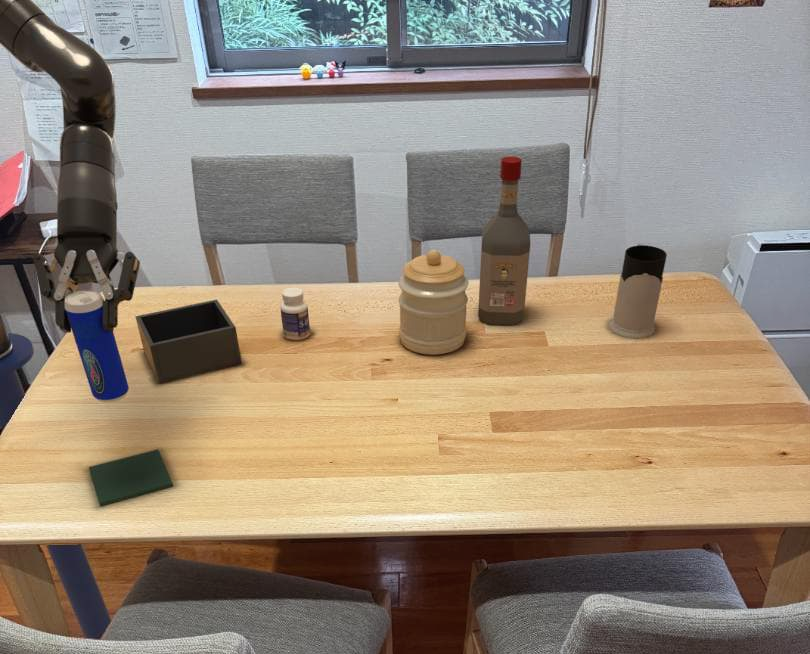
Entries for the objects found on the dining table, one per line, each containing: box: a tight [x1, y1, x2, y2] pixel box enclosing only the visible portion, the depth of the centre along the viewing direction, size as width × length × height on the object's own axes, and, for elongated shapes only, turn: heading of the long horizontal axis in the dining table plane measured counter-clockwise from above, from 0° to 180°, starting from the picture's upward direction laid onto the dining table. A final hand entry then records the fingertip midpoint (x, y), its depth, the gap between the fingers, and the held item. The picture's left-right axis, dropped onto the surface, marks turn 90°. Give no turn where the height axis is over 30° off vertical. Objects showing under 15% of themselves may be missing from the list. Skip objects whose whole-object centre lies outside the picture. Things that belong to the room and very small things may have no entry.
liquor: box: [477, 156, 531, 326], centre depth 155 cm, size 9×9×30 cm
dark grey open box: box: [135, 299, 243, 384], centre depth 151 cm, size 16×13×8 cm
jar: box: [397, 249, 469, 355], centre depth 152 cm, size 13×13×18 cm
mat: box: [88, 448, 174, 507], centre depth 126 cm, size 11×10×1 cm
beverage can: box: [65, 289, 130, 403], centre depth 113 cm, size 5×5×15 cm
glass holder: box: [609, 242, 668, 339], centre depth 157 cm, size 9×14×15 cm, turn 173°
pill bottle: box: [279, 287, 311, 341], centre depth 157 cm, size 5×5×9 cm
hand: (86, 330), depth 109 cm, fingers closed on beverage can, 5 cm apart
